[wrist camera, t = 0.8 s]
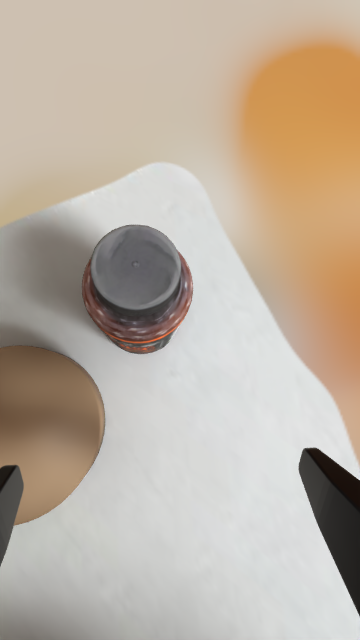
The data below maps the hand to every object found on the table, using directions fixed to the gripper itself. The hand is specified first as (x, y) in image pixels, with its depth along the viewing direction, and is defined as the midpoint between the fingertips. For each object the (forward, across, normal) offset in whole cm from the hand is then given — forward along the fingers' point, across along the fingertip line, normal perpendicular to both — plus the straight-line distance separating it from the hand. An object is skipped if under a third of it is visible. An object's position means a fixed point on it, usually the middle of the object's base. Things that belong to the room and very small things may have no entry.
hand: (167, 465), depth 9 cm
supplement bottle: (+15, +1, +2) cm, 16 cm away
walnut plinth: (+11, +10, +8) cm, 16 cm away
